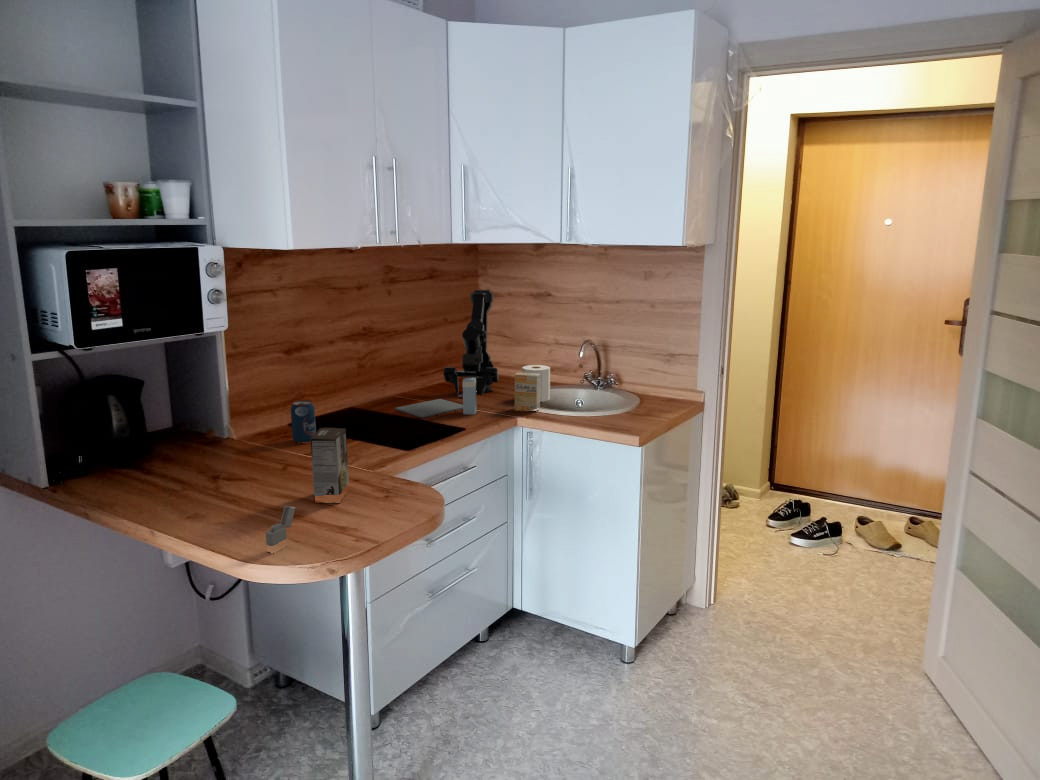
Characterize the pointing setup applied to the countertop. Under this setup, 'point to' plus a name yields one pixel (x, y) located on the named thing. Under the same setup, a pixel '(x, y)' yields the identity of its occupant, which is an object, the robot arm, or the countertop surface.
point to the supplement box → (527, 391)
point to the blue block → (469, 395)
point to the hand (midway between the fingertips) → (469, 395)
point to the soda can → (303, 420)
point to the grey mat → (430, 408)
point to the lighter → (280, 527)
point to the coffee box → (329, 461)
